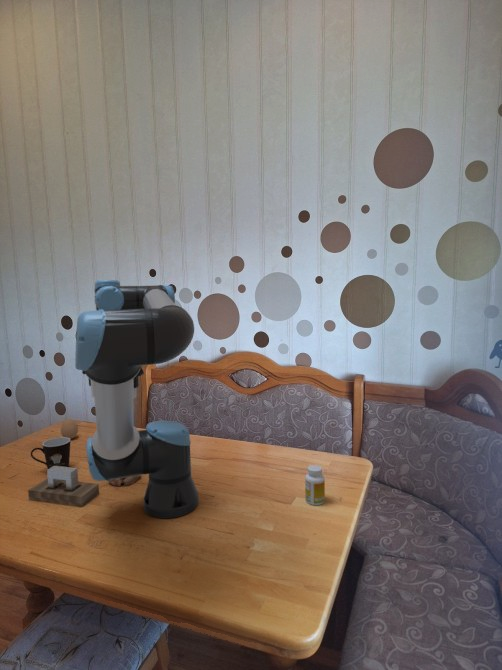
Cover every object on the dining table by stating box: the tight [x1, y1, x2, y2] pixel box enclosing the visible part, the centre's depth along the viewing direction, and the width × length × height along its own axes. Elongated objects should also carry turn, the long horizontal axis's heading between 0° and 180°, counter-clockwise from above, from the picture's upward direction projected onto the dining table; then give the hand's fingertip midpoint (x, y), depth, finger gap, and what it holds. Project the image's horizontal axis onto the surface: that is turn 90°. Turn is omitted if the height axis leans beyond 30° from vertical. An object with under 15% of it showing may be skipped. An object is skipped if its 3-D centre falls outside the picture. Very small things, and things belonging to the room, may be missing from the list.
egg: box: [60, 418, 79, 440], centre depth 172 cm, size 6×6×8 cm
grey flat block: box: [27, 477, 100, 508], centre depth 124 cm, size 18×8×3 cm, turn 75°
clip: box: [46, 466, 79, 492], centre depth 124 cm, size 8×3×8 cm, turn 75°
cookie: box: [108, 475, 142, 488], centre depth 135 cm, size 10×11×3 cm
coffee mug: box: [30, 436, 71, 470], centre depth 143 cm, size 12×9×10 cm
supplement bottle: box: [304, 464, 326, 506], centre depth 119 cm, size 5×5×10 cm
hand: (114, 397), depth 133 cm, fingers open, 13 cm apart
